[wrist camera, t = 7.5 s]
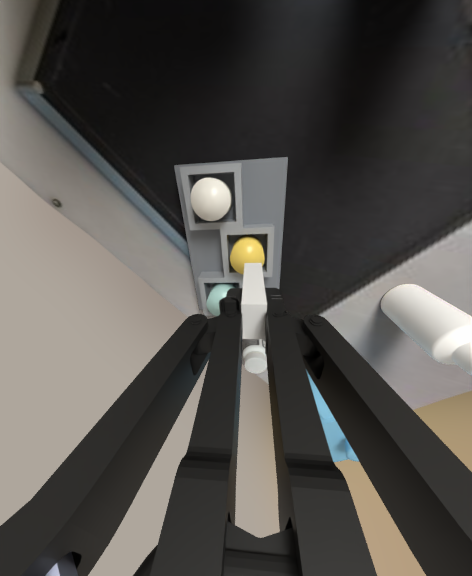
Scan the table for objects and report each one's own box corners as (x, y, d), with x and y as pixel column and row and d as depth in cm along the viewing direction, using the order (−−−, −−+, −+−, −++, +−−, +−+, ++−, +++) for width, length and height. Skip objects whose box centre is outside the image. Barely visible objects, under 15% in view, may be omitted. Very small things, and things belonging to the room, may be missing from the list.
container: (336, 326, 37) (385, 406, 23) (386, 390, 45) (445, 477, 31) (267, 361, 43) (274, 440, 30) (322, 411, 51) (347, 492, 37)
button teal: (210, 280, 30) (204, 292, 26) (237, 279, 29) (235, 292, 26) (213, 303, 32) (208, 317, 28) (238, 302, 32) (236, 317, 28)
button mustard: (231, 235, 26) (228, 242, 23) (263, 234, 26) (264, 241, 22) (233, 264, 28) (231, 275, 25) (262, 263, 28) (264, 274, 24)
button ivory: (196, 180, 23) (187, 178, 20) (231, 178, 23) (228, 176, 19) (201, 217, 25) (193, 221, 22) (233, 215, 25) (230, 220, 21)
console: (181, 167, 26) (165, 162, 21) (284, 160, 24) (292, 153, 20) (203, 301, 36) (195, 318, 31) (275, 300, 35) (279, 318, 30)
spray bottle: (392, 321, 35) (507, 429, 19) (371, 301, 33) (479, 401, 18) (430, 298, 32) (600, 403, 17) (409, 275, 31) (577, 367, 15)
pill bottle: (240, 337, 40) (238, 370, 33) (247, 321, 38) (247, 353, 30) (260, 343, 40) (263, 378, 33) (269, 327, 38) (274, 361, 31)
